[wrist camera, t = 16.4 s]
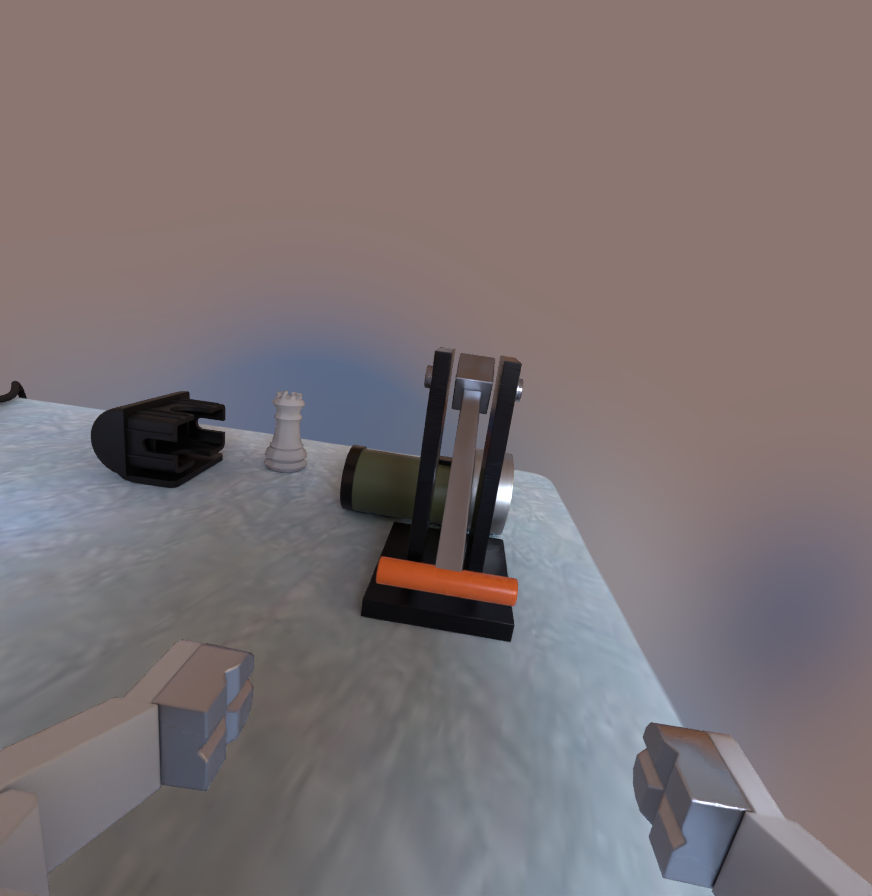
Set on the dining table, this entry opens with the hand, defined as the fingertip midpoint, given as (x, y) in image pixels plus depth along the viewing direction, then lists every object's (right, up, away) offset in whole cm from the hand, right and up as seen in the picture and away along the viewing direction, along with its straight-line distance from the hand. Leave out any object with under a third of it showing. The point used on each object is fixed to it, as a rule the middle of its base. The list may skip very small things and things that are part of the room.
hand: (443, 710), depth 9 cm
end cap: (-27, +3, +36) cm, 45 cm away
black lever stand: (0, -4, +23) cm, 23 cm away
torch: (-1, -1, +32) cm, 32 cm away
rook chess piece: (-16, +3, +40) cm, 44 cm away
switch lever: (+1, +4, +15) cm, 16 cm away
